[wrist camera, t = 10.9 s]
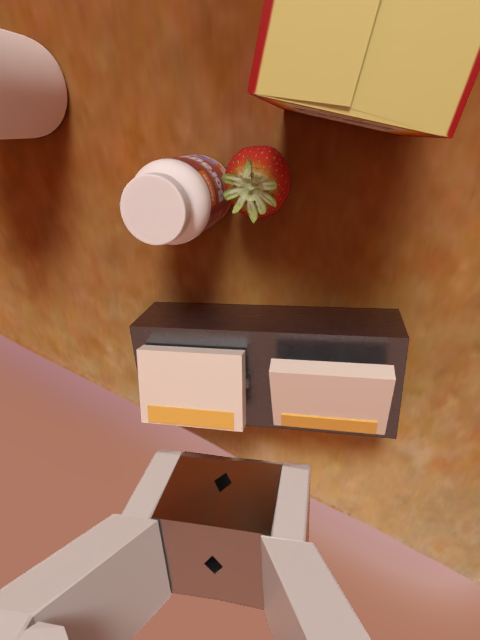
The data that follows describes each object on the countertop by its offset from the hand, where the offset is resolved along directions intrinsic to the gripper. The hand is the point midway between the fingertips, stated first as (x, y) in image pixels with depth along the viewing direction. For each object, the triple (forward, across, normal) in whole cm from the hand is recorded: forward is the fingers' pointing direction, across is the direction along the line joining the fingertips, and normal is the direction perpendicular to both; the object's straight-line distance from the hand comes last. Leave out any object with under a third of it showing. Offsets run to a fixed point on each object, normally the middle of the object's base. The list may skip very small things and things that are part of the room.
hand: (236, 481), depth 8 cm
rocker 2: (+24, -2, +14) cm, 27 cm away
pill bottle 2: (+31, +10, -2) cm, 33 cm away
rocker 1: (+24, +10, +14) cm, 29 cm away
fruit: (+31, +4, -3) cm, 32 cm away
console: (+31, +4, +14) cm, 34 cm away
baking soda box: (+31, -3, -10) cm, 33 cm away
